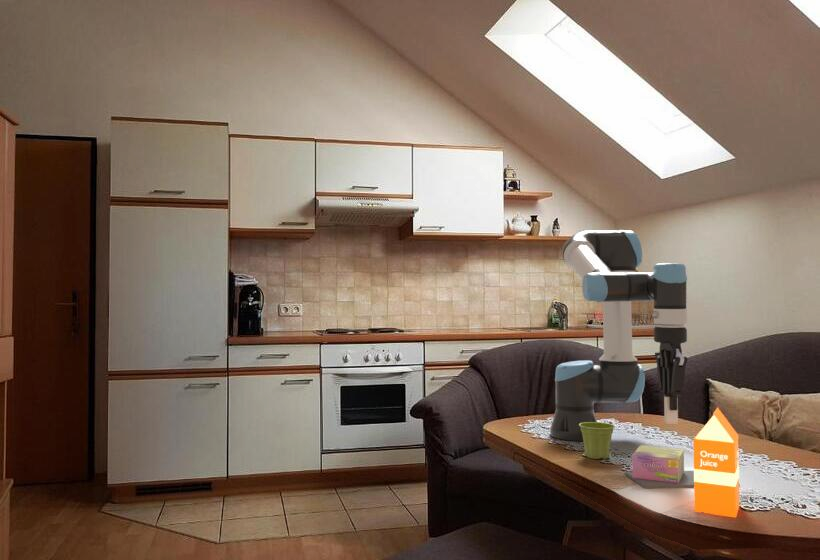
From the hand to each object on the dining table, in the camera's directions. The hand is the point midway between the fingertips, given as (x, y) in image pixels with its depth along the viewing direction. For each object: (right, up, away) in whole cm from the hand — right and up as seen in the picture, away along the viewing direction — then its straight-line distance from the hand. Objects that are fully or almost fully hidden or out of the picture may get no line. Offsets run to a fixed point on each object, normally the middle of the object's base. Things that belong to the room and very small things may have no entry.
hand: (671, 422), depth 161 cm
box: (-1, -9, +3) cm, 10 cm away
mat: (0, -13, -5) cm, 13 cm away
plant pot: (-13, -14, +18) cm, 26 cm away
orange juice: (-1, -12, -26) cm, 29 cm away
